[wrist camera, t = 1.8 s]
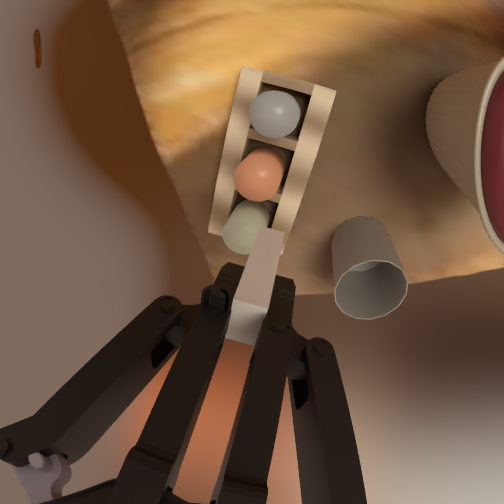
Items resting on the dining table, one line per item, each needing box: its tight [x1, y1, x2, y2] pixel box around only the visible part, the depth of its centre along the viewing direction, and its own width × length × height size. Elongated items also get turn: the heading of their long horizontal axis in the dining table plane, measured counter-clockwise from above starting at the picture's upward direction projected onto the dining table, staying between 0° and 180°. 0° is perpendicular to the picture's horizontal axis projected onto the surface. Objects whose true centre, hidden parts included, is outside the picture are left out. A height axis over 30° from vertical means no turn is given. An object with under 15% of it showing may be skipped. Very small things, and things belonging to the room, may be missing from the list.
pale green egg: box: [222, 200, 270, 254], centre depth 31 cm, size 4×4×5 cm
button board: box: [208, 66, 336, 255], centre depth 31 cm, size 21×10×3 cm, turn 167°
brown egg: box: [234, 147, 285, 201], centre depth 27 cm, size 4×4×5 cm
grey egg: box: [249, 91, 301, 138], centre depth 24 cm, size 4×4×5 cm
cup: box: [331, 216, 408, 319], centre depth 31 cm, size 8×8×10 cm
